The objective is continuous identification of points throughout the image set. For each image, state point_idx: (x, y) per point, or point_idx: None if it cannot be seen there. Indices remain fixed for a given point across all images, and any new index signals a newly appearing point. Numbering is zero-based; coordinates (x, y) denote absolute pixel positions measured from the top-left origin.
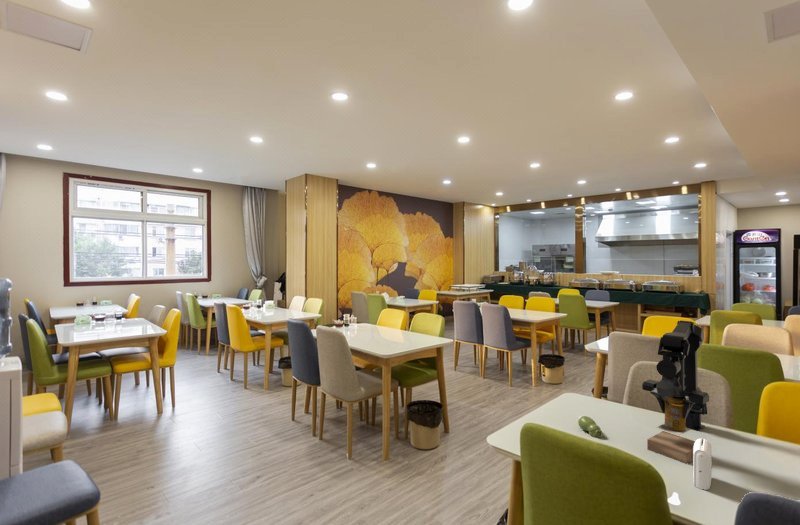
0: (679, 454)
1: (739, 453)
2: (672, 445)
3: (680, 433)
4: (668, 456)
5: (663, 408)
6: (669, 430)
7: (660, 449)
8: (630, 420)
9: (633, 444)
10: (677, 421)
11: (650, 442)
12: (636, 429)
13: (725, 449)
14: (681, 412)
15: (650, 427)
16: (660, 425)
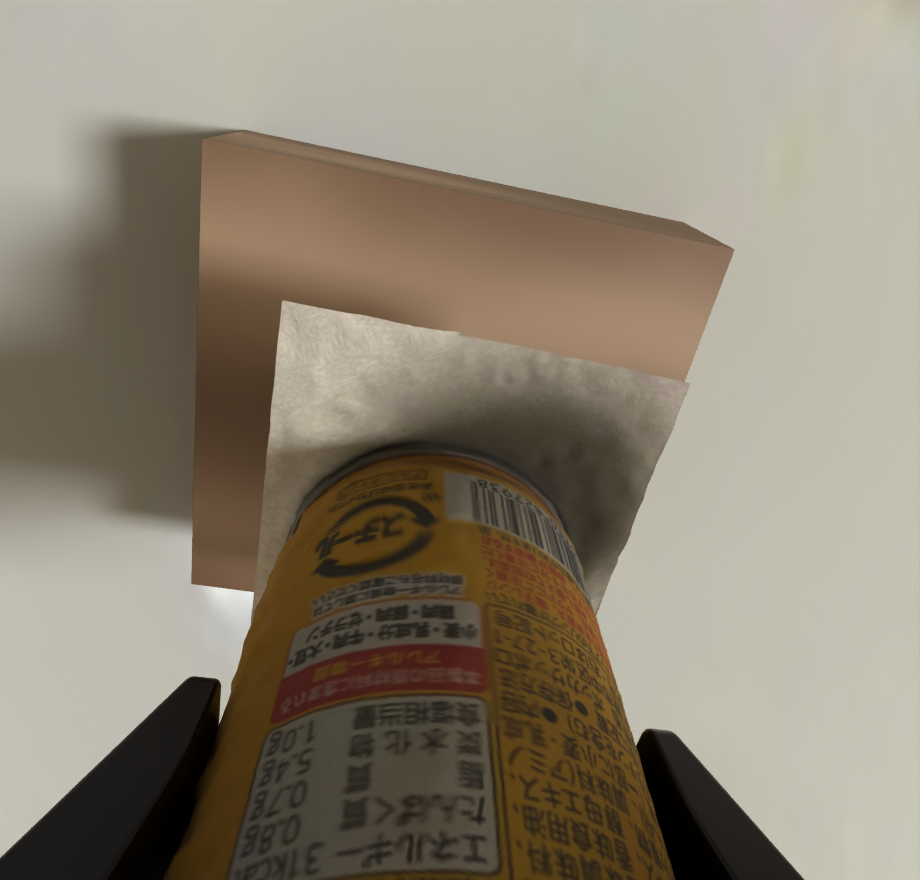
0: (312, 155)
1: (25, 712)
2: (420, 283)
3: (299, 397)
4: (449, 173)
5: (694, 829)
6: (477, 411)
7: (547, 198)
8: (857, 769)
9: (836, 252)
10: (339, 567)
11: (683, 236)
12: (807, 637)
13: (124, 715)
14: (212, 816)
15: (694, 743)
16: (632, 515)
